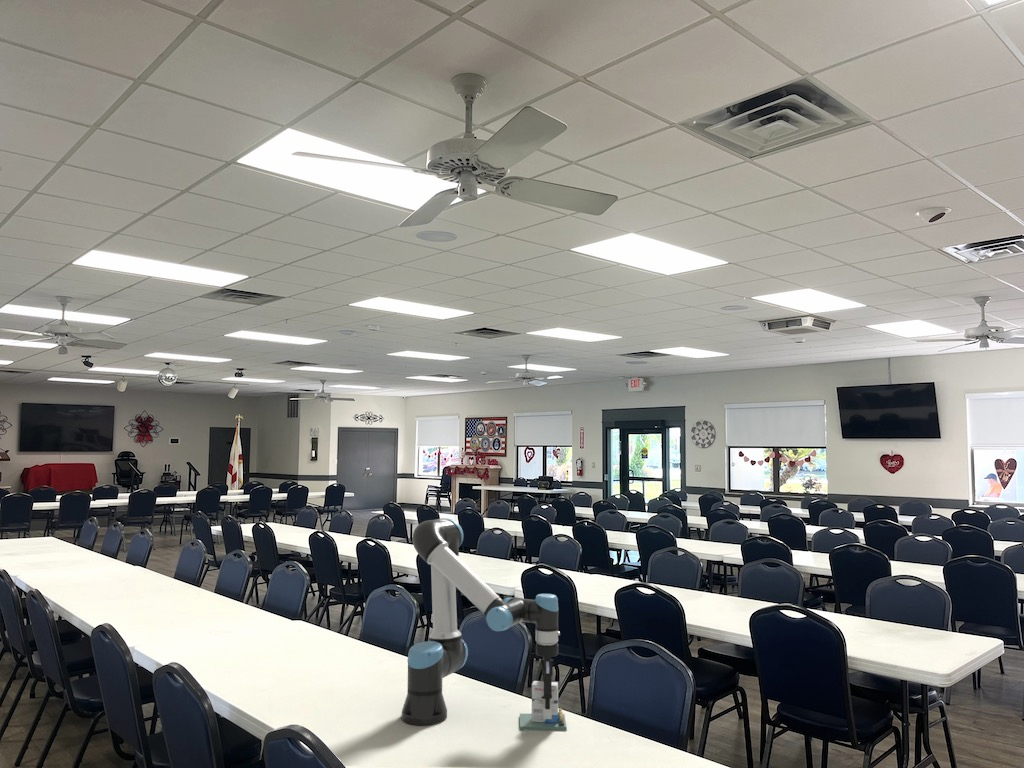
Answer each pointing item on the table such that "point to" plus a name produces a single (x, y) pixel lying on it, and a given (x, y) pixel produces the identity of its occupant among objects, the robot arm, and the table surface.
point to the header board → (542, 723)
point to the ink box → (538, 702)
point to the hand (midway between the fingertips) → (547, 715)
